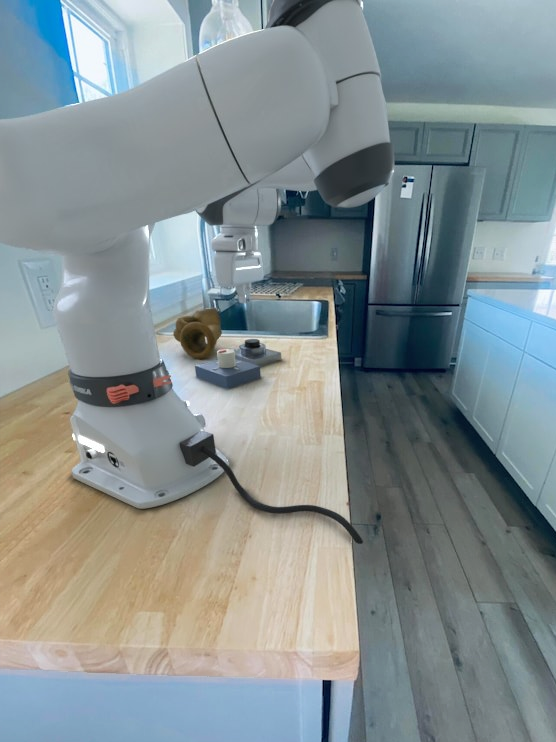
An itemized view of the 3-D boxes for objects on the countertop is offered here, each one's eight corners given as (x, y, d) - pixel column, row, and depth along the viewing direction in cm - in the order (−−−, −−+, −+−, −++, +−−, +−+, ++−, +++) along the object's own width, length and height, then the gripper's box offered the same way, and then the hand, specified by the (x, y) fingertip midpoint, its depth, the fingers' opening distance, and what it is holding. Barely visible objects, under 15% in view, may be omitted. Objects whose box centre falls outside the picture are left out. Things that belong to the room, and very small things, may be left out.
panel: (260, 378, 89) (260, 365, 87) (227, 389, 82) (225, 375, 80) (229, 368, 95) (228, 356, 94) (196, 377, 88) (194, 364, 87)
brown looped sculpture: (246, 318, 117) (219, 319, 96) (236, 356, 121) (208, 365, 101) (193, 297, 117) (154, 293, 96) (184, 336, 121) (145, 340, 101)
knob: (228, 362, 90) (227, 346, 88) (239, 365, 87) (237, 349, 86) (215, 365, 87) (213, 350, 85) (226, 369, 85) (224, 353, 83)
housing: (281, 360, 102) (281, 346, 100) (254, 368, 95) (253, 353, 93) (253, 352, 109) (252, 338, 107) (225, 359, 102) (224, 345, 100)
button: (263, 346, 101) (262, 340, 100) (251, 349, 98) (251, 343, 97) (253, 344, 103) (252, 338, 102) (242, 347, 100) (241, 340, 99)
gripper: (245, 242, 98) (249, 296, 104) (206, 241, 80) (214, 307, 86) (268, 242, 96) (270, 297, 103) (233, 242, 79) (239, 309, 85)
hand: (244, 302), depth 94 cm, fingers closed
